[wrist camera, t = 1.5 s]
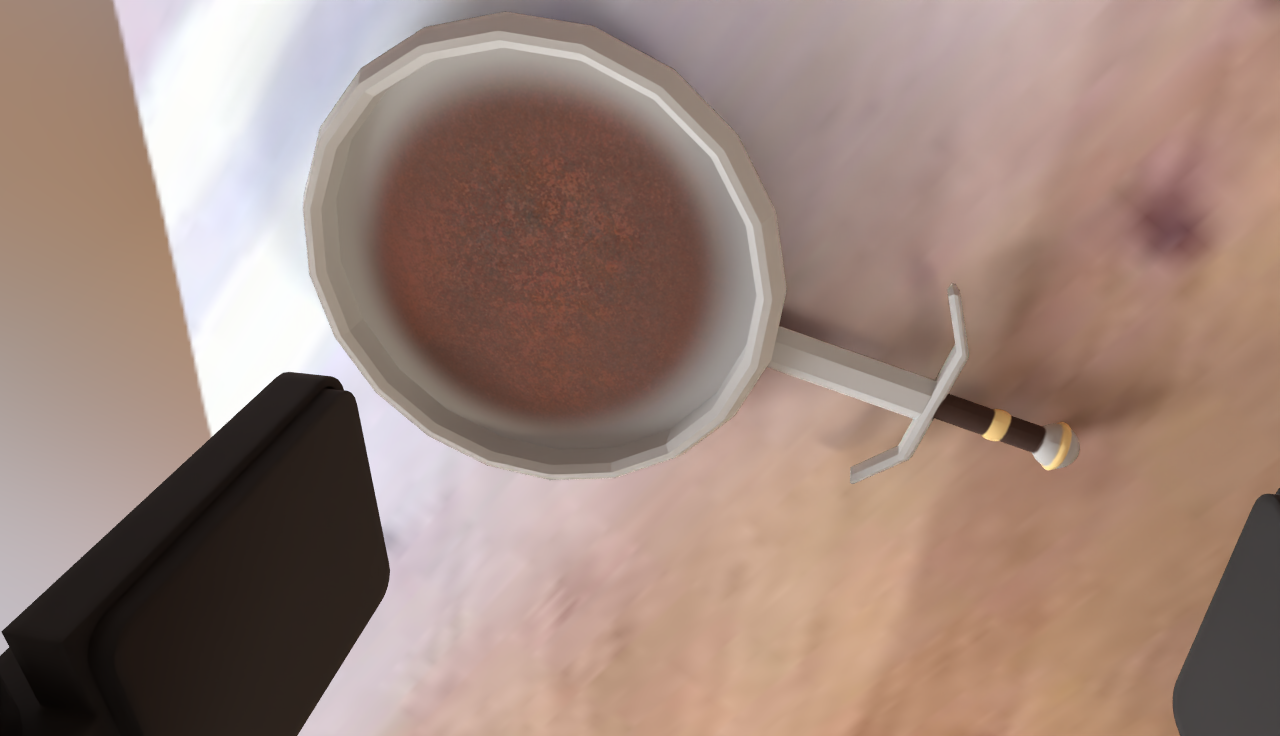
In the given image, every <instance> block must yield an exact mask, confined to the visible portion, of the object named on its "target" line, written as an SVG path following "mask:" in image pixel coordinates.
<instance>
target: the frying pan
mask: <svg viewBox="0 0 1280 736" xmlns="http://www.w3.org/2000/svg"><path fill="white" fill-rule="evenodd" d="M303 213H304V223H305V233H306V244H307V254H308V265H309V274H310V277H311V279H312V282H313V284H314V287H315V289H316V292H317V294H318V297H319V299H320V302H321V304H322V307H323V309H324V312H325V314H326V316H327V319H328V321H329V324H330V326H331V329H332V331H333V334H334V336H335V338H336V340H337V341H338V342H339V344H340V345H341V346H342V348H343V349H344V350H345V352H346V353H347V354H348V356H349V357H350V358H351V360H352V361H353V362H354V364H355V365H356V366H357V368H358V369H359V370H360V372H361V373H362V375H363V376H364V377H365V379H366V380H367V381H368V383H369V384H370V385H371V387H372V388H373V389H374V391H375V392H376V393H377V394H378V395H380V396H381V397H382V398H383V399H384V400H386V401H387V402H388V403H389V404H390V405H392V406H393V407H394V408H395V409H396V410H398V411H399V412H400V413H401V414H402V415H404V416H405V417H406V418H407V419H408V420H410V421H411V422H412V423H413V424H414V425H416V426H417V427H418V428H419V429H420V430H422V431H423V432H424V433H425V434H426V435H427V436H429V437H431V438H433V439H435V440H437V441H439V442H441V443H443V444H445V445H447V446H449V447H451V448H453V449H455V450H457V451H459V452H461V453H463V454H465V455H467V456H469V457H471V458H473V459H475V460H477V461H479V462H481V463H483V464H485V465H487V466H492V467H496V468H500V469H505V470H509V471H513V472H518V473H522V474H526V475H531V476H535V477H539V478H544V479H548V480H570V479H602V478H616V477H619V476H622V475H625V474H628V473H631V472H634V471H637V470H640V469H643V468H646V467H649V466H652V465H655V464H658V463H661V462H664V461H667V460H670V459H673V458H676V457H678V456H680V455H682V454H684V453H685V452H687V451H688V450H689V449H691V448H692V447H693V446H695V445H696V444H697V443H699V442H700V441H702V440H703V439H704V438H706V437H707V436H708V435H710V434H711V433H712V432H714V431H715V430H716V429H718V428H719V427H720V426H722V425H723V424H724V423H726V422H727V421H728V420H730V419H731V418H732V417H734V416H735V415H736V413H737V411H738V410H739V408H740V407H741V405H742V404H743V402H744V401H745V399H746V398H747V396H748V395H749V393H750V392H751V390H752V389H753V387H754V386H755V384H756V382H757V381H758V379H759V378H760V376H761V375H762V373H763V372H764V370H765V369H766V367H768V368H771V369H774V370H776V371H779V372H782V373H785V374H788V375H791V376H793V377H796V378H799V379H802V380H805V381H808V382H810V383H813V384H816V385H819V386H822V387H825V388H827V389H830V390H833V391H836V392H839V393H842V394H844V395H847V396H850V397H853V398H856V399H859V400H861V401H864V402H867V403H870V404H873V405H876V406H879V407H881V408H884V409H887V410H890V411H893V412H896V413H898V414H901V415H904V416H907V417H910V418H913V420H912V422H911V424H910V425H909V427H908V429H907V431H906V433H905V434H904V436H903V438H902V440H901V442H900V443H899V445H898V446H896V447H894V448H892V449H889V450H887V451H885V452H883V453H881V454H878V455H876V456H874V457H872V458H870V459H868V460H865V461H863V462H861V463H859V464H857V465H854V466H852V467H851V469H850V483H851V484H854V483H857V482H859V481H861V480H864V479H866V478H868V477H871V476H873V475H875V474H877V473H880V472H882V471H884V470H887V469H889V468H891V467H893V466H896V465H898V464H900V463H903V462H905V461H907V460H909V459H910V458H911V457H912V456H913V454H914V452H915V450H916V449H917V447H918V445H919V443H920V442H921V440H922V438H923V436H924V435H925V433H926V431H927V429H928V428H929V426H930V424H931V422H932V421H933V419H934V418H936V419H938V420H941V421H944V422H947V423H950V424H953V425H955V426H958V427H961V428H964V429H967V430H970V431H972V432H975V433H978V434H980V435H981V436H982V437H984V438H985V439H987V440H991V441H1001V442H1004V443H1007V444H1009V445H1012V446H1015V447H1018V448H1021V449H1024V450H1026V451H1029V452H1032V454H1033V456H1034V458H1035V459H1036V460H1037V461H1038V462H1039V463H1041V465H1042V466H1043V468H1045V469H1046V470H1053V469H1056V468H1062V467H1066V466H1068V465H1070V464H1071V463H1073V462H1074V461H1075V459H1076V458H1077V456H1078V454H1079V451H1080V443H1079V439H1078V437H1077V436H1076V434H1075V433H1074V432H1073V431H1072V430H1071V428H1070V427H1069V425H1068V424H1067V423H1064V422H1060V423H1057V424H1048V425H1045V426H1042V427H1041V426H1039V425H1036V424H1033V423H1030V422H1027V421H1024V420H1022V419H1019V418H1016V417H1013V416H1011V415H1010V414H1009V413H1008V412H1006V411H1004V410H1001V409H990V408H987V407H984V406H982V405H979V404H976V403H973V402H970V401H967V400H965V399H962V398H959V397H956V396H953V395H950V394H948V393H949V391H950V389H951V388H952V386H953V384H954V382H955V381H956V379H957V377H958V375H959V374H960V372H961V370H962V369H963V367H964V365H965V363H966V362H967V360H968V357H969V350H968V343H967V336H966V329H965V322H964V315H963V308H962V301H961V295H960V290H959V288H958V287H957V285H956V284H954V283H951V285H950V286H949V288H948V289H947V292H948V298H949V305H950V312H951V319H952V325H953V332H954V339H955V345H954V347H953V348H952V350H951V352H950V354H949V356H948V357H947V359H946V361H945V363H944V364H943V366H942V368H941V370H940V372H939V373H938V375H937V377H936V379H935V380H932V379H929V378H926V377H924V376H921V375H918V374H915V373H912V372H909V371H906V370H904V369H901V368H898V367H895V366H892V365H889V364H887V363H884V362H881V361H878V360H875V359H872V358H869V357H867V356H864V355H861V354H858V353H855V352H852V351H849V350H847V349H844V348H841V347H838V346H835V345H832V344H829V343H827V342H824V341H821V340H818V339H815V338H812V337H810V336H807V335H804V334H801V333H798V332H795V331H792V330H790V329H787V328H784V327H781V326H779V323H780V319H781V314H782V310H783V305H784V301H785V296H786V292H787V287H786V280H785V273H784V266H783V259H782V251H781V244H780V237H779V230H778V223H777V215H776V211H775V209H774V207H773V205H772V203H771V201H770V199H769V197H768V195H767V193H766V191H765V189H764V187H763V185H762V183H761V181H760V179H759V177H758V175H757V173H756V170H755V168H754V166H753V164H752V162H751V160H750V158H749V156H748V154H747V152H746V150H745V148H744V146H743V144H742V142H741V140H740V138H739V136H738V135H737V133H736V132H735V131H734V130H733V129H732V128H731V127H730V126H729V125H728V124H727V123H726V122H725V121H724V120H723V119H722V118H721V117H720V116H719V115H718V114H717V113H716V112H715V111H714V110H713V109H712V108H711V107H710V106H709V105H708V104H707V103H706V102H705V101H704V100H703V99H702V98H701V97H700V96H699V94H698V93H697V92H696V91H695V90H694V89H693V88H692V87H691V86H690V85H689V84H688V83H687V82H686V81H685V80H684V79H683V78H682V77H681V76H680V75H679V74H678V73H677V72H676V71H675V70H674V69H672V68H670V67H668V66H667V65H665V64H663V63H661V62H659V61H657V60H656V59H654V58H652V57H650V56H648V55H646V54H644V53H643V52H641V51H639V50H637V49H635V48H633V47H631V46H630V45H628V44H626V43H624V42H622V41H620V40H618V39H617V38H615V37H613V36H611V35H609V34H607V33H605V32H604V31H602V30H600V29H598V28H596V27H594V26H591V25H585V24H579V23H573V22H567V21H561V20H555V19H549V18H542V17H536V16H530V15H524V14H518V13H512V12H506V11H505V12H500V13H495V14H490V15H484V16H479V17H474V18H469V19H464V20H459V21H453V22H448V23H443V24H438V25H433V26H428V27H424V28H422V29H421V30H419V31H418V32H416V33H415V34H413V35H412V36H410V37H408V38H407V39H405V40H404V41H402V42H401V43H399V44H398V45H396V46H395V47H393V48H391V49H390V50H388V51H387V52H385V53H384V54H382V55H381V56H379V57H378V58H376V59H374V60H373V61H371V62H370V63H368V64H367V65H365V66H364V67H362V68H361V69H360V70H359V72H358V73H357V75H356V76H355V78H354V79H353V80H352V82H351V83H350V85H349V86H348V88H347V89H346V91H345V92H344V93H343V95H342V96H341V98H340V99H339V101H338V102H337V104H336V105H335V106H334V108H333V109H332V111H331V112H330V114H329V115H328V117H327V118H326V120H325V121H324V122H323V124H322V125H321V127H320V130H319V134H318V138H317V143H316V147H315V151H314V155H313V159H312V164H311V168H310V172H309V176H308V180H307V185H306V189H305V193H304V200H303Z"/></svg>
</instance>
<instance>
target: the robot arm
mask: <svg viewBox="0 0 1280 736" xmlns="http://www.w3.org/2000/svg"><path fill="white" fill-rule="evenodd" d="M389 575H390V568H389V561H388V557H387V552H386V547H385V542H384V537H383V532H382V527H381V522H380V517H379V512H378V507H377V502H376V497H375V492H374V487H373V482H372V477H371V472H370V467H369V462H368V457H367V452H366V447H365V442H364V437H363V432H362V427H361V422H360V417H359V412H358V407H357V403H356V400H355V397H354V396H353V394H352V393H351V392H349V391H344V389H343V386H342V384H341V383H340V382H339V380H338V379H336V378H334V377H331V376H322V375H313V374H303V373H294V372H286V373H282V374H281V375H279V376H278V377H276V378H275V379H274V380H273V381H272V382H271V383H270V384H269V385H268V386H267V387H265V388H264V389H263V390H262V391H261V392H260V393H259V394H258V395H257V396H256V397H255V398H254V399H252V400H251V401H250V402H249V403H248V404H247V405H246V406H245V407H244V408H243V409H242V410H241V411H240V412H238V413H237V414H236V415H235V416H234V417H233V418H232V419H231V420H230V421H229V422H228V423H227V424H225V425H224V426H223V427H222V428H221V429H220V430H219V431H218V432H217V433H216V434H215V435H214V436H212V437H211V438H210V439H209V440H208V441H207V442H206V443H205V444H204V445H203V446H202V447H201V448H200V449H198V450H197V451H196V452H195V453H194V454H193V455H192V456H191V457H190V458H189V459H188V460H187V461H186V462H184V463H183V464H182V465H181V466H180V467H179V468H178V469H177V470H176V471H175V472H174V473H173V474H171V475H170V476H169V477H168V478H167V479H166V480H165V481H164V482H163V483H162V484H161V485H160V486H159V487H157V488H156V489H155V490H154V491H153V492H152V493H151V494H150V495H149V496H148V497H147V498H146V499H144V500H143V501H142V502H141V503H140V504H139V505H138V506H137V507H136V508H135V509H134V510H132V512H130V513H129V514H128V515H127V516H126V517H125V518H124V519H123V520H122V521H121V522H120V523H118V524H117V525H116V526H115V527H114V528H113V529H112V530H111V531H110V532H109V533H108V534H107V535H105V536H104V537H103V538H102V539H101V540H100V541H99V542H98V543H97V544H96V545H95V546H94V547H92V548H91V549H90V550H89V551H88V552H87V553H86V554H85V555H84V556H83V557H82V558H81V559H80V560H79V561H77V562H76V563H75V564H74V565H73V566H72V567H71V568H70V569H69V570H68V571H67V572H65V573H64V574H63V575H62V576H61V577H60V578H59V579H58V580H57V581H56V582H55V583H54V584H52V585H51V586H50V587H49V588H48V589H47V590H46V591H45V592H44V593H43V594H42V595H41V596H39V597H38V598H37V599H36V600H35V601H34V602H33V603H32V604H31V605H30V606H29V607H28V608H27V609H25V610H24V611H23V612H22V613H21V614H20V615H19V616H18V617H17V618H16V619H15V620H14V621H12V622H11V623H10V624H9V625H8V626H7V627H6V628H5V629H4V630H3V631H2V634H3V635H4V637H5V639H6V641H7V643H8V645H9V648H8V649H7V650H6V651H5V652H4V653H3V654H2V655H1V656H0V736H297V735H298V734H299V732H300V730H301V729H302V727H303V726H304V724H305V722H306V721H307V719H308V718H309V716H310V714H311V713H312V711H313V710H314V708H315V706H316V705H317V703H318V702H319V700H320V698H321V697H322V695H323V694H324V692H325V690H326V689H327V687H328V686H329V684H330V682H331V681H332V679H333V678H334V676H335V674H336V673H337V671H338V670H339V668H340V666H341V665H342V663H343V662H344V660H345V658H346V657H347V655H348V654H349V652H350V650H351V649H352V647H353V646H354V644H355V642H356V641H357V639H358V638H359V636H360V634H361V633H362V631H363V630H364V628H365V626H366V625H367V623H368V622H369V620H370V618H371V617H372V615H373V614H374V612H375V610H376V609H377V607H378V606H379V604H380V602H381V601H382V599H383V597H384V595H385V593H386V590H387V587H388V582H389ZM1173 712H1174V718H1175V721H1176V725H1177V728H1178V730H1179V733H1180V736H1280V488H1279V489H1278V491H1277V492H1276V494H1264V495H1262V496H1260V497H1259V498H1258V499H1257V500H1256V502H1255V504H1254V506H1253V508H1252V510H1251V512H1250V514H1249V517H1248V519H1247V521H1246V524H1245V526H1244V528H1243V530H1242V533H1241V535H1240V537H1239V539H1238V542H1237V544H1236V546H1235V549H1234V551H1233V553H1232V555H1231V558H1230V560H1229V562H1228V565H1227V567H1226V569H1225V571H1224V574H1223V576H1222V578H1221V581H1220V583H1219V585H1218V587H1217V590H1216V592H1215V594H1214V596H1213V599H1212V601H1211V603H1210V606H1209V608H1208V610H1207V612H1206V615H1205V617H1204V619H1203V622H1202V624H1201V626H1200V628H1199V631H1198V633H1197V635H1196V638H1195V640H1194V642H1193V644H1192V647H1191V649H1190V651H1189V654H1188V656H1187V658H1186V660H1185V663H1184V665H1183V667H1182V669H1181V672H1180V674H1179V676H1178V679H1177V681H1176V684H1175V687H1174V692H1173Z"/></svg>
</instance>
